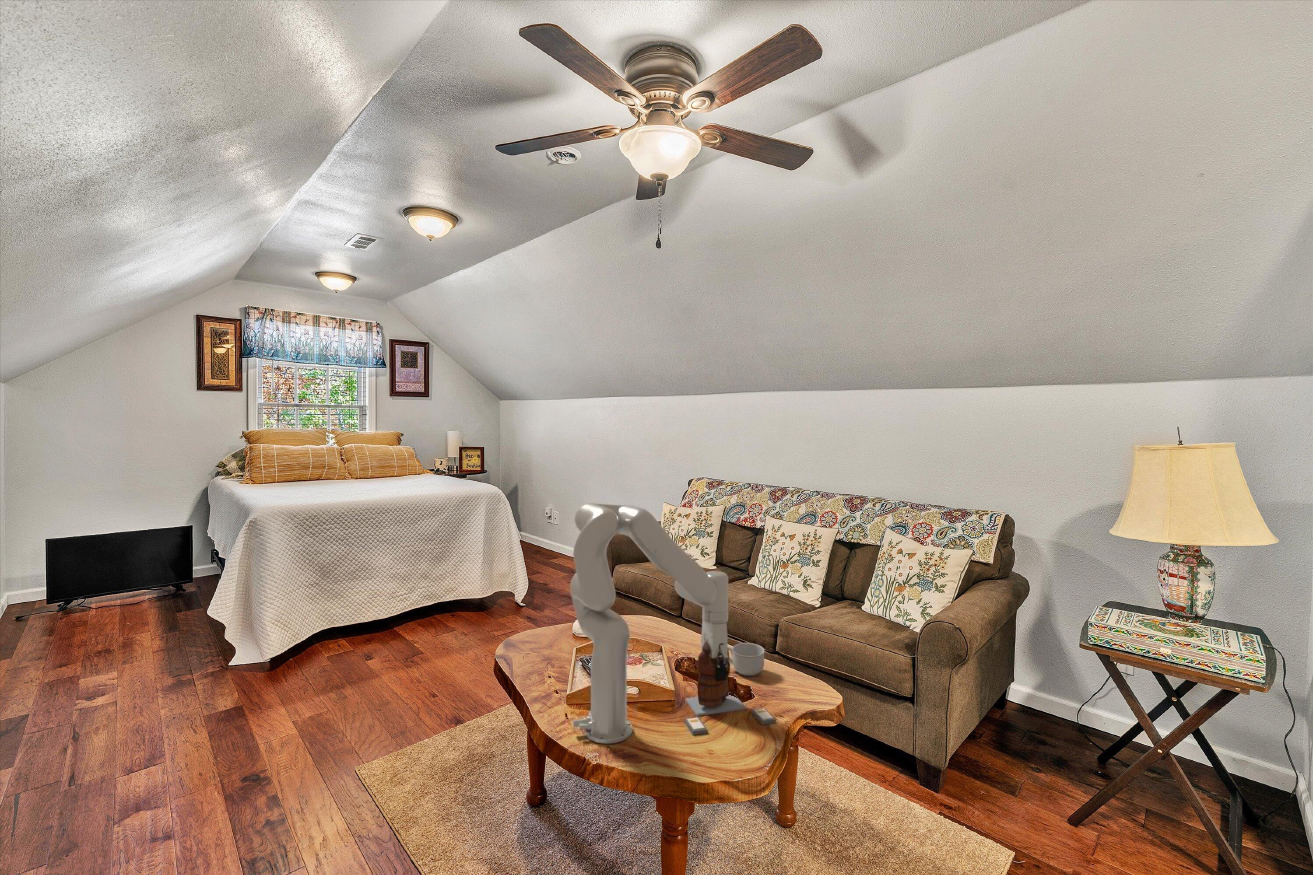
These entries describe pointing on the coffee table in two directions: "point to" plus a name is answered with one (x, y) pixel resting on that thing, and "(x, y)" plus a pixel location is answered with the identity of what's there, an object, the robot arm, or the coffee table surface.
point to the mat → (726, 706)
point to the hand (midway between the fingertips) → (714, 673)
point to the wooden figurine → (711, 679)
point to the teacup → (747, 658)
